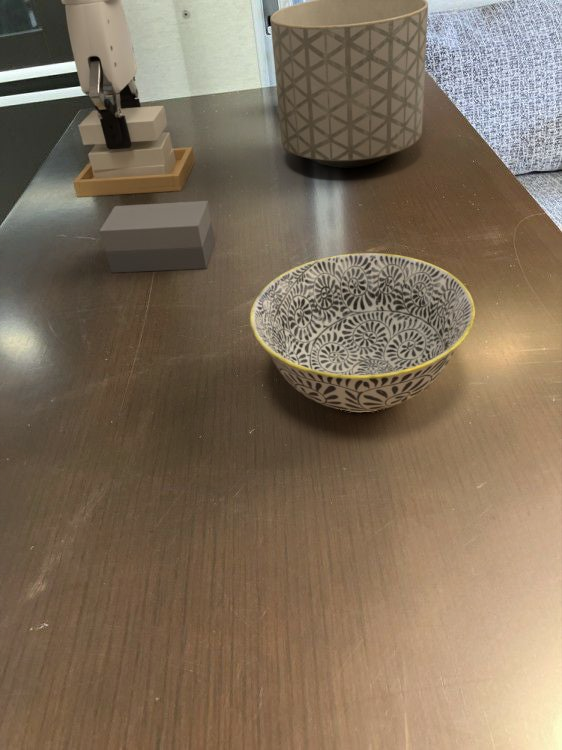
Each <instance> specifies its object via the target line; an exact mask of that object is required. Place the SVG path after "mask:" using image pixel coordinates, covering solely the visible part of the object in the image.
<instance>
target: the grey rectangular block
mask: <svg viewBox="0 0 562 750" xmlns="http://www.w3.org/2000/svg"><path fill="white" fill-rule="evenodd" d="M209 205H210V204H209V201H208V200H198V201H197V200H196V201H179V202H178V201H177V202H164V203H145V204H128V205H115V206H114V207H113V208H112V210H111V212H110V213H109V214H108V216H107V218H106V220H105V221H104V222H103V224H102V226H101V227H100V229H99V231H98V233H99V236H100V239H101V243H102V246H103V249H104V252H105V255H106V259H107V262H108V265H109V269H110V272H111V274H116V273H117V274H118V273H139V272H162V271H163V272H164V271H183V270H185V271H187V270H206V269H207V268H208V265H209V262H210V260H211V259H210V258H211V256H212V253H213V249H214V247H215V243H216V240H215V235H214V234H215V233H214V228H213V223H212V218H211V217H212V216H211V212H210V211H211V210H210V206H209Z"/></svg>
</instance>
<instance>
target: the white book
mask: <svg viewBox="0 0 562 750" xmlns="http://www.w3.org/2000/svg"><path fill="white" fill-rule="evenodd" d="M121 114H122V115H125V118H126V123H127V127H128V131H129V135H130V140H131V142H140V141H156V140H158V138H159V137H160V135H161V133H164V131H165V129H166V128H167V126H168V120H167V115H166V109H165V105H153V106H152V105H151V106H141V107H136V108H121ZM77 127H78V130H79V135H80V137H81V141H82V144H83V146H88V145H91V146H92V145H95V144H106V142H105V138H104V134H103V130H102V126H101V122H100V119H99V118H98V115H97V110H96V109H94V110H92V111H91V112H90V113H89V114H88V115H87V116H86V117H85V118H84V119H83V120H82V121H81V122H80V123H79V124H78V125H77Z"/></svg>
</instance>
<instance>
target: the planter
mask: <svg viewBox="0 0 562 750" xmlns="http://www.w3.org/2000/svg"><path fill="white" fill-rule="evenodd" d="M428 13H429V2H428V1H427V0H307V1H303V2H299V3H295V4H292V5H289V6H286V7H282V8H281V9H278V10H276V11H274V12H273V13H272V14H271V15H270V18H269V19H270V30H271V31H270V32H271V41H272V52H273V53H272V54H273V62H274V63H273V64H274V73H275V74H274V75H275V87H276V95H277V96H276V97H277V107H278V118H279V119H278V120H279V129H280V138H281V139H280V140H281V141H280V142H281V144H282V146H283V148H284V149H285V150H286V151H288V152H289V153H291V154H292V155H295V156H298V157H301V158H305V159H308V160H311V161H314V162H316V163H318V164H321V165H324V166H329V167H333V168H340V169H341V168H342V169H349V168H350V169H353V168H360V167H364V166H368V165H372V164H375V163H378V162H380V161H382V160H385V159H386V158H388V157H390V156H392V155H393V154H396V153H399V152H401V151H404V150H406V149H408V148H409V147H411V146H413V145H414V144H416V143H417V142H418V141H419V140H420V139H421V137H422V135H423V134H422V133H423V119H424V118H423V117H424V94H425V78H426V77H425V75H426V56H427V55H426V53H427V36H428V15H429V14H428Z"/></svg>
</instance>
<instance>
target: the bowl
mask: <svg viewBox="0 0 562 750" xmlns="http://www.w3.org/2000/svg"><path fill="white" fill-rule="evenodd" d="M249 313H250V315H249V323H250V327H251V331H252V334H253V335H254V337H255V339H256V340H257V342H258V344H260V346H261V347H262V348H263V349H264V350H265V351H266V353H267V354H268V355H269V357H270V358H271V360H272V362H273V363H274V366H275V367H276V368H277V371H279V373H280V374H281V375H282V377H283V378H284V379H285V380H286V381H287V382H288V383H289V385H290V386H291V387H292V388H294V389H295V390H296V391H298V392H299V393H300V394H301V395H303V396H305V397H306V398H307V399H310V400H311V401H313V402H315V403H318V404H320V405H323V406H324V407H328V408H332V409H336V410H339V409H340V410H339V411H342V410H347V411H374V410H380V409H383V410H386V409H389V408H392V407H395V406H398V405H401V404H403V403H406V402H407V401H410V400H411V399H413V398H415V397H416V396H418V395H419V394H421V393H422V392H424V391H425V390H426V389H428V388H429V387H430V386H431V385H432V384H433V383H434V381H436V380H437V379H438V378H439V376H440V375H441V373H442V372H443V371H444V369H445V368H446V366H447V365H448V363H449V362H450V360H451V358H452V357H453V355H454V353H455V351H457V348H458V347H459V346H460V345H461V344H462V343H463V342H464V340H465V339H466V338H467V337H468V334H469V333H470V331H471V330H472V327H473V325H474V322H475V316H476V315H475V314H476V308H475V303H474V300H473V297H472V294H471V293H470V291H469V290H468V288H467V286H466V285H465V284H464V283H463V282H461V281H460V280H459V279H458V278H457V277H456V276H455V275H453V274H452V273H450V272H449V271H447V270H445V269H443V268H441V267H440V266H437V265H435V264H433V263H430V262H427V261H424V260H422V259H418V258H415V257H410V256H404V255H398V254H391V253H382V252H381V253H379V252H363V253H347V254H340V255H339V254H338V255H334V256H328V257H323V258H319V259H316V260H312V261H309V262H306V263H303V264H300V265H297V266H295V267H293V268H291V269H289V270H287V271H286V272H283V273H282V274H280V275H278V276H277V277H275V278H274V279H273V280H271V281H269V282H268V284H267V285H265V286H264V287H263V288H262V289H261V290H260V292H259V293H258V295H257V296H256V298H255V299H254V302H253V303H252V306H251V309H250V312H249ZM385 408H386V409H385Z"/></svg>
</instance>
